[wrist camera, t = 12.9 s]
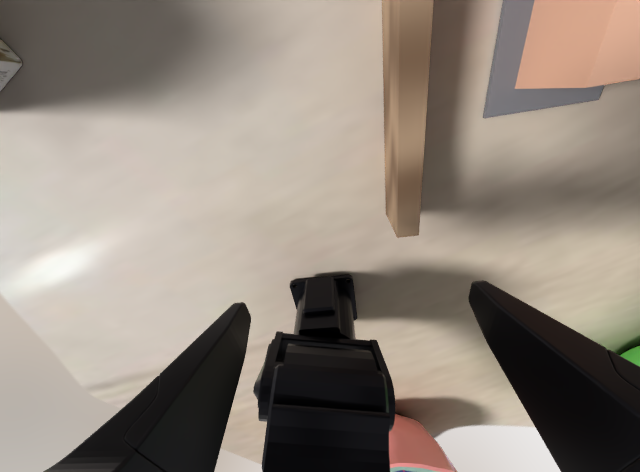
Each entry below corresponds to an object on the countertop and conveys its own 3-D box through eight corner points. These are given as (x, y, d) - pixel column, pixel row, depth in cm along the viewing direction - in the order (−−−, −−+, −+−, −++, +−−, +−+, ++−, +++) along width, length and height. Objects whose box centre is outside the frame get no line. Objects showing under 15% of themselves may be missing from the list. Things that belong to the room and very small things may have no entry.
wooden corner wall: (680, 176, 18) (762, 195, 15) (385, 213, 21) (397, 237, 17) (1121, -525, 7) (1839, -1082, 4) (377, -270, 10) (404, -470, 6)
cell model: (304, 409, 40) (297, 511, 30) (424, 383, 35) (462, 496, 25) (346, 446, 47) (350, 537, 38) (449, 430, 42) (485, 530, 32)
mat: (594, 99, 16) (598, 99, 16) (482, 117, 17) (485, 118, 16) (688, -152, 11) (697, -158, 11) (522, -110, 12) (526, -114, 11)
